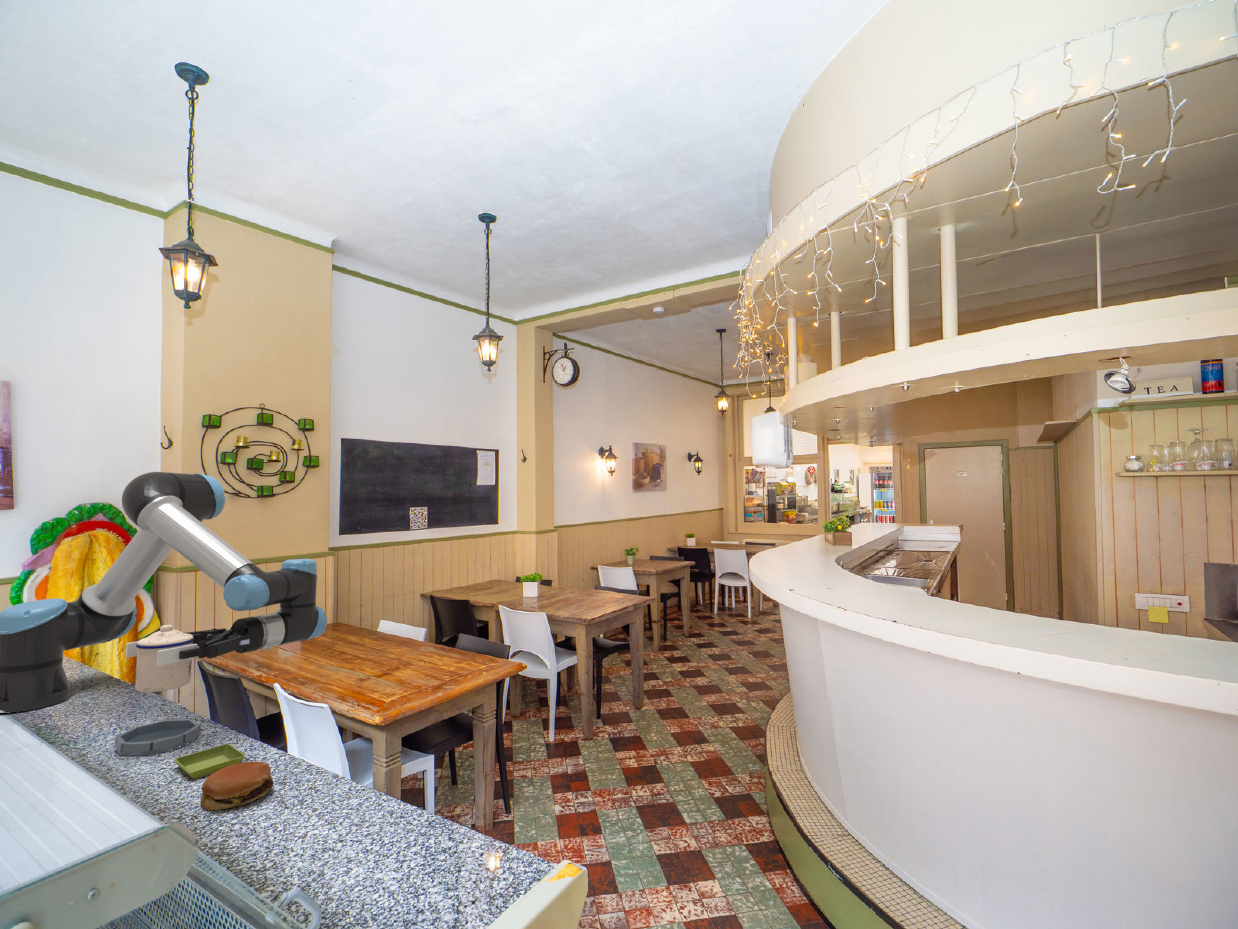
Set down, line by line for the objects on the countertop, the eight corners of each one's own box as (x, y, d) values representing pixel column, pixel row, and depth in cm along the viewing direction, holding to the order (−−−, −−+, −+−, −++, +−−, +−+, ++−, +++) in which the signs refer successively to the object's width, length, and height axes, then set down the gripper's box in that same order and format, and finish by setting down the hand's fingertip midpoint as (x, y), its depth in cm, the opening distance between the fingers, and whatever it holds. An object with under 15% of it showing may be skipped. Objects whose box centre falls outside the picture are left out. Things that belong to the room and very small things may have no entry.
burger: (186, 806, 91) (187, 775, 92) (242, 781, 100) (244, 752, 101) (230, 819, 88) (232, 786, 88) (285, 791, 97) (286, 761, 97)
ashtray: (109, 744, 115) (110, 732, 115) (186, 726, 124) (187, 714, 125) (125, 762, 107) (126, 749, 107) (206, 741, 116) (207, 729, 117)
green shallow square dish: (246, 767, 106) (246, 755, 106) (188, 785, 99) (189, 773, 99) (228, 754, 111) (228, 743, 111) (172, 771, 104) (172, 759, 104)
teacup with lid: (202, 682, 117) (204, 623, 118) (149, 696, 109) (152, 632, 110) (168, 675, 123) (171, 618, 123) (115, 687, 114) (119, 626, 115)
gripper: (287, 656, 126) (172, 683, 107) (225, 644, 138) (112, 666, 119) (289, 621, 127) (174, 641, 108) (227, 611, 139) (114, 628, 120)
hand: (141, 654), depth 114 cm, fingers closed on teacup with lid, 12 cm apart
